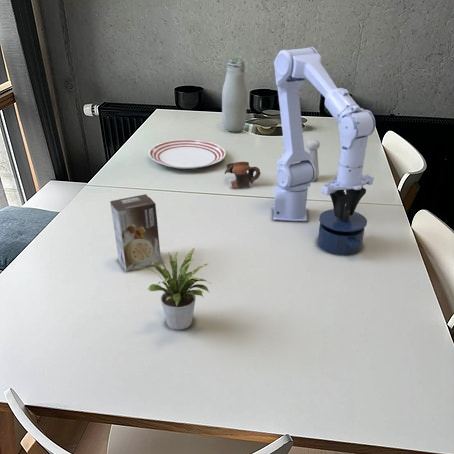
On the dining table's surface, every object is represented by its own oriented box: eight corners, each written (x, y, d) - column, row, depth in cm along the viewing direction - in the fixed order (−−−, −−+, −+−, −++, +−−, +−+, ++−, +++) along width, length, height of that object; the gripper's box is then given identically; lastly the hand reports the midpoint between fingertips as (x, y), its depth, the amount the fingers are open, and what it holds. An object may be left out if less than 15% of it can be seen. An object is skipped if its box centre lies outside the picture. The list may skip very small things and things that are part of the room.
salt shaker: (317, 183, 170) (321, 144, 162) (300, 181, 171) (303, 142, 163) (318, 176, 174) (322, 138, 167) (301, 175, 175) (305, 137, 168)
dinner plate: (239, 156, 190) (240, 147, 188) (196, 180, 171) (196, 171, 169) (179, 142, 202) (179, 134, 200) (133, 164, 183) (132, 154, 181)
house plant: (150, 354, 99) (144, 283, 90) (132, 314, 110) (124, 247, 101) (219, 336, 104) (219, 266, 95) (195, 299, 115) (193, 233, 105)
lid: (330, 236, 126) (332, 221, 124) (311, 215, 136) (313, 200, 133) (375, 231, 129) (377, 215, 127) (353, 210, 138) (355, 195, 136)
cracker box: (152, 251, 132) (147, 193, 123) (161, 263, 127) (157, 203, 118) (117, 260, 128) (109, 200, 119) (125, 272, 124) (118, 211, 115)
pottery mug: (222, 189, 166) (219, 163, 165) (232, 191, 175) (229, 167, 174) (258, 184, 162) (255, 157, 161) (266, 187, 171) (264, 161, 170)
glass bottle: (220, 134, 212) (220, 60, 196) (224, 126, 220) (225, 55, 204) (244, 135, 210) (246, 61, 195) (247, 128, 219) (249, 56, 203)
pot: (332, 263, 128) (335, 243, 125) (307, 232, 141) (309, 214, 138) (373, 257, 130) (377, 238, 127) (345, 227, 144) (347, 210, 141)
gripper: (338, 174, 118) (331, 228, 125) (385, 163, 124) (375, 215, 131) (319, 165, 123) (313, 216, 130) (365, 154, 129) (357, 205, 136)
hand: (343, 215), depth 131 cm, fingers closed on lid, 3 cm apart
